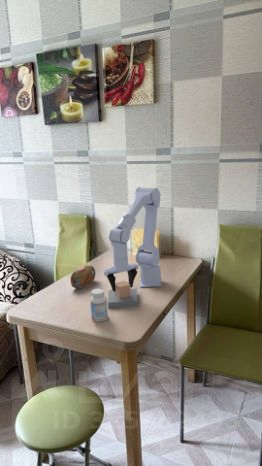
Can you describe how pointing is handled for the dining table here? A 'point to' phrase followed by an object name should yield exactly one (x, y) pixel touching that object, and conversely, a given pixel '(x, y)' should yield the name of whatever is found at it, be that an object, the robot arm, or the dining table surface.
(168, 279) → the dining table surface
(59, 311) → the dining table surface
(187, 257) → the dining table surface
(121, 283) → the terracotta cube
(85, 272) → the tin
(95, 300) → the pill bottle
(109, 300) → the gray block
